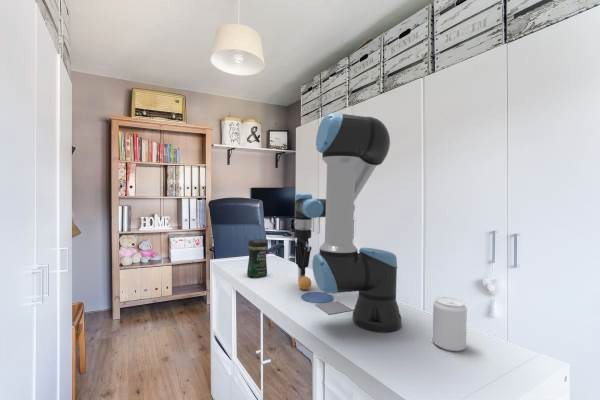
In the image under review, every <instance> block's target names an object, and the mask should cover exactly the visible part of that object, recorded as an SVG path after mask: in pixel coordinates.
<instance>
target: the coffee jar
mask: <svg viewBox="0 0 600 400" xmlns="http://www.w3.org/2000/svg"><path fill="white" fill-rule="evenodd" d="M247 247H248V251H249V253H248V264H247V269H246V274H247V275H246V276H248V277H249V278H254V279H255V278H262V277H267V275H268V267H267V266H268V264H267V252H268V248H269V245H268V240H267V239H264V238H254V239H249V241H248V245H247Z"/></svg>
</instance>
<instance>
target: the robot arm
mask: <svg viewBox="0 0 600 400" xmlns="http://www.w3.org/2000/svg"><path fill="white" fill-rule="evenodd" d="M390 137H391V136H390V134H389V131H388V128H387V127H386V125H385V124H384V123H383V122H382V121H381V120H380V119H378V118H375V117H374V116H373V117H371V116H361V115H354V114H347V113H341V112H340V113H328V114H326V115H325V116H324V117H322V119H321V121H320V123H319V125H318V129H317V132H316V138H315V146H316V151H317V152H319V153H320V154H322V158H321V160H323V161H324V163H325V164H326V184H325V185H326V187H325V189H326V191H325V198H313V195H312V194H311V193H296V194H295V197H294V222H293V224H294V230H293V231H294V232H293V233H294V235H293V236H294V238H295V239H296V241H295V242H294V243H293V247H294V255H295V256H294V258H295V264H296V265H297V269H298V270H297V271H298V273H297V282H298V283H299V280H300V279H301V278H302V277H306V269H307V268H308V267H309V263H310V257H311V256H310V255H311V251H312V248H313V247H312V246H310V245H309V239H311V238H312V225H313V224H312V223H313V220H312V219H316V218H325V221H324V222H325V223H324V242H323V243H322V244H321V245H320V246H319V253H316V254H314V255H313V257H312V258H313V259H312V273H313V277H314V281H315V284H316V286H317V287H318V289H319V290H320V292H323V293H328V294H339V293H351V292H358V296H357V299H356V302H355V306H354V309H353V311H352V321H353V323H354V324H355V325H356V326H358V327H360V328H362V329H364V330H368V331H371V332H378V333H379V332H383V333H388V332H395V331H397V330H399V329H401V327H402V315H401V313H400V309H399V305H398V302H397V278H398V277H397V272H398V271H397V269H398V261H397V259H398V258H397V256H396V254H394V253H393V252H390V251H387V250H383V249H377V248H372V247H360V248H359V250H358V247H357V246H356V245H354V215H355V207H356V205H355V201H356V200H357V198H358V196H359V194H361V192H362V191H363V189H364V187H365V185H366V184H367V182H368V181H369V179H370V177H371V176H372V174H373V173H374V171H375V169H376V168H377V166H380V165H381V164H382V163H383V162H384V161H385V160H386V158H387V156H388V153H389V151H390V150H389V149H390V145H391V138H390Z"/></svg>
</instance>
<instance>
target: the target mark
mask: <svg viewBox="0 0 600 400" xmlns="http://www.w3.org/2000/svg"><path fill="white" fill-rule="evenodd" d="M300 298H301V300H303V301H305V302H307V303H312V304H321V303H328V302H334V299H335V297H334V296H333V295H332V294H331V293H324V292H322V291H310V292H305V293H303V294H301V296H300Z"/></svg>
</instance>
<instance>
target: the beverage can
mask: <svg viewBox="0 0 600 400" xmlns="http://www.w3.org/2000/svg"><path fill="white" fill-rule="evenodd" d="M434 300H435V301H434V302H433V303H432V305H433V306H432V307H433V308H432V310H433V311H432V341H433V343H434V345H436V346H438V347H440V349H441V348H442V349H444V350H446V351H450V352H460V351H464V350H465V349H467V316H468V315H467V314H468V313H467V312H468V311H467V310H468V309H467V307H466V303H465V302H464V301H463V300H461V299H458V298H454V297H448V296H438V297H436V298H435V299H434Z"/></svg>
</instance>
